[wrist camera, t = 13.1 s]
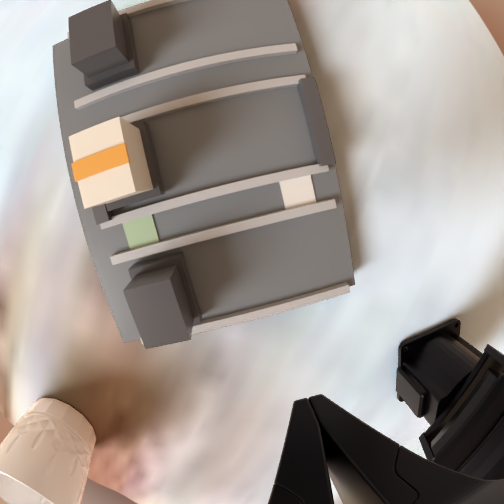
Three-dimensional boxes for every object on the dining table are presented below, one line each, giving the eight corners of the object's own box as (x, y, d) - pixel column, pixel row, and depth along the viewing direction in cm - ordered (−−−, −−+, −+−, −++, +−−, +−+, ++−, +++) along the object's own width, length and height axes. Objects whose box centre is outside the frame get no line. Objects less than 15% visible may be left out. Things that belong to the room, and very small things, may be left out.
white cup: (33, 375, 20) (-22, 451, 10) (112, 422, 21) (82, 514, 12) (25, 423, 21) (-14, 490, 11) (92, 462, 22) (69, 538, 13)
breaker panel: (276, -7, 15) (292, -49, 10) (346, 279, 20) (381, 308, 15) (61, 51, 15) (26, 24, 10) (130, 333, 20) (109, 375, 15)
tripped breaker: (148, 124, 15) (122, 104, 10) (164, 193, 16) (144, 199, 11) (98, 141, 15) (59, 130, 10) (114, 209, 16) (79, 220, 11)
